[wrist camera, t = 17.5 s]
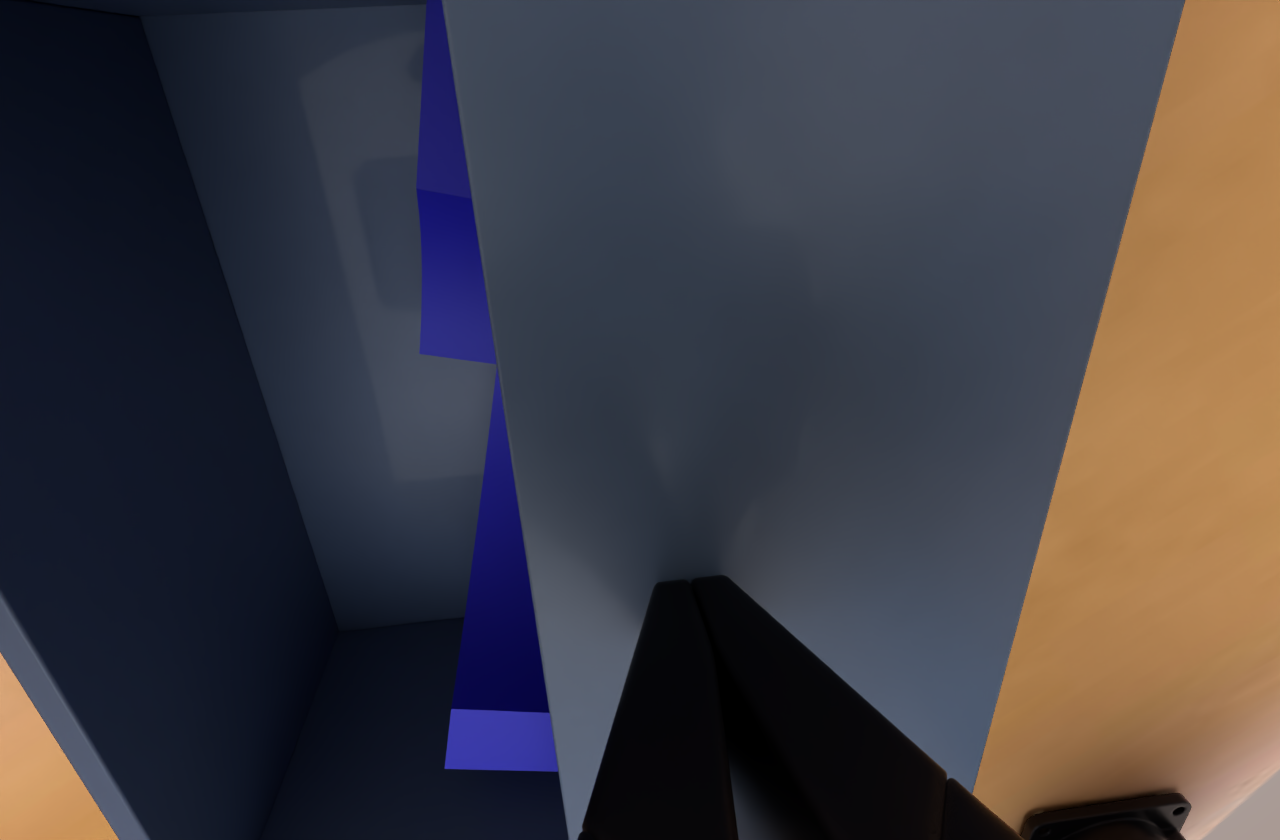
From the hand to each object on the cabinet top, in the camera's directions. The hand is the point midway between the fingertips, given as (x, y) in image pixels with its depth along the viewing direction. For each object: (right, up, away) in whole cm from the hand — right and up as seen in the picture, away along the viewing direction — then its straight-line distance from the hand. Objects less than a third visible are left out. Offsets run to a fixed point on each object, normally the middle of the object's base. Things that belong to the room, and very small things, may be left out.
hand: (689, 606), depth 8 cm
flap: (+1, 0, 0) cm, 1 cm away
